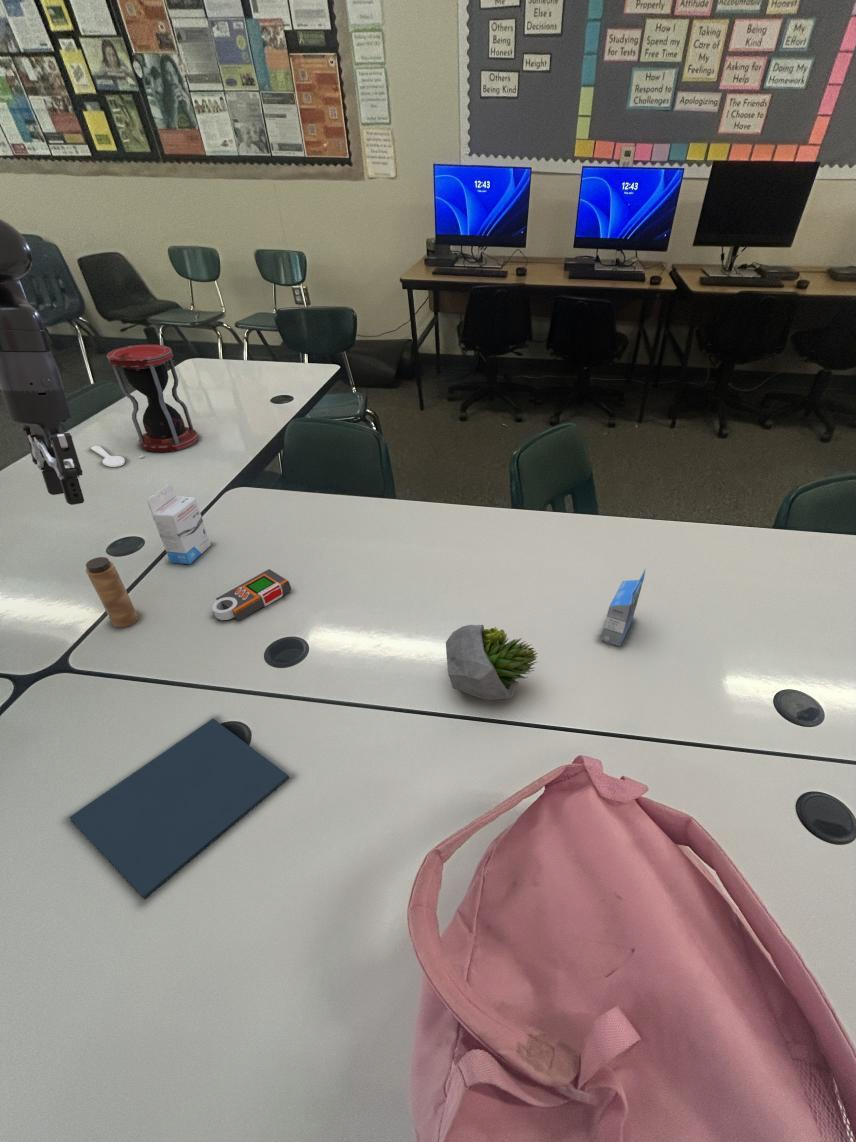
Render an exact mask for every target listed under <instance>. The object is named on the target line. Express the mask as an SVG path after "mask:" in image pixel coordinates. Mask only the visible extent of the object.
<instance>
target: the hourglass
mask: <svg viewBox="0 0 856 1142" xmlns="http://www.w3.org/2000/svg"><path fill="white" fill-rule="evenodd" d="M172 350H173V349H172V348H171V347H169V346H166V345H162V344H138V345H137V344H136V345H128V346H123V347H119V348H116V349H113V350H111V351H108V352H107V354H106V359H107V361H108V363H109V365H111V366H112V369H113V372H114V374H115V377H116V379H117V382H118V386H119V387H120V390H121V392H122V393H123V395H124V396H125V397H127V398H128V399H129V400H130V402H131V403H132V407H133V410H132V413H131V420H132V422H133V425H134V428H135V430H136V434H137V435H138V444H139V446H140V448H141V449H143V450H144V451H146V452H151V453H171V452H175V451H180V450H184V449H186V448H189V447H191V446H193V445H195V444H196V443H197V442H198V441H199V435H198V432H197V431H196V429H194V426H193V423H192V419H191V416H190V414H189V410H188V407H187V405H186V403H185V402H184V401H183V400H181V399H180V397H179V395H178V386H179V378H178V374H177V372H176V371H177V370H176V368H175V365H174V361H173V357H174V353H173V351H172ZM166 362H168V365H169V368H170V369H169V370H170V371H171V374H172V378H173V385H172V387H171V396H172V398H173V400H174V401H175V402H176V403H178V404H180V407H182V410H183V413H184V417H185V420H186V422H187V423H186V424H187V426H185V422H184V419H183V417H182V415H181V414H180V413H179V412H178V411H177V410H176V408H174V407H173V406H172V405H170V404H168V403H167V402H165V398H164V391H165V390H166V388H167V386H168V382H169V372H168V368H167V365H166V364H165V363H166ZM119 367H121V368H122V369H123V373H124V376H125V378H126V380H127V382H128V383H129V384H130V385H131V387H132V388H133V389H135V390H136V391H137V392H139V393H140V394H142V395H143V396H145V397H146V399H147V406H146V409H145V410H144V412H143V415H142V424H143V428H144V430H145V433H144V434H143V432H142V429H141V426H140V424H139V421H138V418H137V416H138V415H137V414H138V411H139V410H140V409H139V402H138V400H137V399H136V397H135V396H134V395H132V394H130V393H129V392H128V390H127V388H126V386H125V384H124V383H125V382H124V381H123V377H122V375H121V372H120V370H119Z"/></svg>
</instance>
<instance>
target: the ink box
mask: <svg viewBox="0 0 856 1142" xmlns="http://www.w3.org/2000/svg"><path fill="white" fill-rule="evenodd" d="M164 494H165V496H163V495H164ZM161 496H163V497H162V498H161V499H160V497H161ZM158 499H159V500H158ZM146 502H147V505H148V507H149V510H150V512H151V516H152V520H153V522H154V524H155V527H156V529H157V532H158V534H159V537H160V540H161V542H162V545H163V547H164V550H165V552H166V554H167V558H168V559H169V562H170V563H174V564H183V565H191V564H193V562H195V561H196V559H197V558H199V557H200V556H201V555H202V554H203V553H204V552H205V551H206V550H208V549H209V547H211V546H212V544H211V541H210V538H209V535H208V532H207V529H206V526H205V523H204V519H203V516H202V513H201V511H200V507H199V504H198V501H197V498H196V497H194V496H185V495H176V492H175V489H174V486H173V484H172V483H171V482H168V484H166V485H165V486H163V487H161V489H159V490H157V492H155V493H154V494H152V495H151V496H149V497H148V498H147V500H146Z"/></svg>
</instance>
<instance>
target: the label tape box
mask: <svg viewBox="0 0 856 1142" xmlns="http://www.w3.org/2000/svg"><path fill="white" fill-rule="evenodd" d="M646 569H647V568H646V567H645V568H644V569H643V571H642V574H641V576H640V578H639V579H633V580H631V579H630V580H622V582H621V583H620V585H619V587H618V589H617V591H616V593H615V595H614V597H613V599H612V601H611V603H610V604H609V607H608V610H607V614H606V618H605V623H604V626H603V631H602V635H601V639H600V640H601V641H602V642H604V643H607V644H609V645H612V646H616V647H621V646H622V644H623V641H624V640H625V637H626V635H627V633H628V631H629V629H630V626H631V624H632V621H633V619H634V616H635V612H636V609H637V605H638V601H639V598H640V595H641V590H642V586H643V582H644V581H645V575H646Z"/></svg>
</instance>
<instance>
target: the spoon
mask: <svg viewBox="0 0 856 1142" xmlns="http://www.w3.org/2000/svg"><path fill="white" fill-rule="evenodd" d="M90 449H91V451H93V452H95V453H96V454H98V455H99V456H101V457H103V459H102V461H101V462H102V465H103V466H106V467H111V468H116V467H121V466H123V465H124V464H125V463H126V460H125V458H124V457H123V456H120V455H111V454H109V453H108V452H107V451H106V450H105V449H104V448H103V447H102V446H100V445H93V446H91V447H90Z"/></svg>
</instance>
